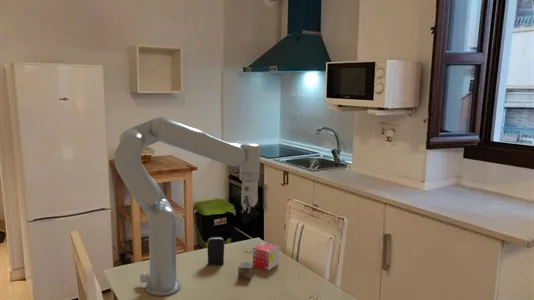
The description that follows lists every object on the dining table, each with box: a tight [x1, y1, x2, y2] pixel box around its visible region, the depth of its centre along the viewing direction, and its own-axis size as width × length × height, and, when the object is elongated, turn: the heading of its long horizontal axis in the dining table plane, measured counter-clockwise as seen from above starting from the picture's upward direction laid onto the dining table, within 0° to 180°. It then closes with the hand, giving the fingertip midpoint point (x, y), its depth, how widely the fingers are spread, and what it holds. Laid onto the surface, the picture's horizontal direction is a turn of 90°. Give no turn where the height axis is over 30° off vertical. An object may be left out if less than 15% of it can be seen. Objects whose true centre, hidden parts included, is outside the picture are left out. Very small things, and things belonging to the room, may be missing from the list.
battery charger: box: [206, 236, 225, 266], centre depth 179 cm, size 7×4×11 cm, turn 100°
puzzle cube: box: [252, 241, 280, 271], centre depth 179 cm, size 8×8×8 cm
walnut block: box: [237, 261, 254, 281], centre depth 167 cm, size 5×5×5 cm
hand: (248, 218), depth 165 cm, fingers open, 9 cm apart
